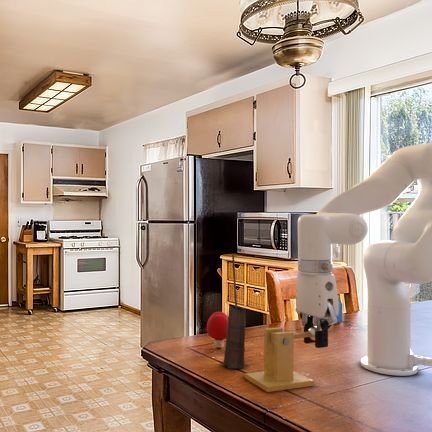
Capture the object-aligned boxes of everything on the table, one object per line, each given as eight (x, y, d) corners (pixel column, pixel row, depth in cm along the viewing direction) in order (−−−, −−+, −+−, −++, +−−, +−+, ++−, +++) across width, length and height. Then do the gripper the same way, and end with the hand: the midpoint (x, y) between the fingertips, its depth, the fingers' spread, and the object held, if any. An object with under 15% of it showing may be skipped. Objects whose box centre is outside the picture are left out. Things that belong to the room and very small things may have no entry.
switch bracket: (288, 372, 114) (288, 324, 114) (313, 385, 105) (313, 333, 105) (245, 378, 110) (245, 327, 110) (267, 392, 101) (267, 337, 101)
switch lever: (316, 337, 113) (315, 324, 113) (325, 341, 110) (325, 327, 110) (269, 344, 109) (269, 330, 108) (277, 347, 105) (277, 333, 105)
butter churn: (263, 371, 114) (264, 256, 114) (226, 374, 113) (226, 257, 112) (247, 360, 123) (248, 253, 123) (213, 362, 122) (213, 254, 121)
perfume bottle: (316, 319, 172) (316, 286, 172) (330, 317, 174) (330, 285, 174) (327, 322, 166) (327, 288, 166) (342, 321, 168) (342, 288, 168)
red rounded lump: (231, 354, 129) (231, 317, 129) (205, 352, 130) (205, 316, 130) (231, 344, 138) (231, 310, 138) (207, 343, 139) (207, 309, 139)
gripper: (353, 269, 104) (354, 352, 104) (305, 262, 120) (306, 334, 120) (326, 271, 102) (327, 356, 102) (280, 264, 117) (281, 337, 117)
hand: (315, 344), depth 111 cm, fingers closed on switch lever, 3 cm apart
